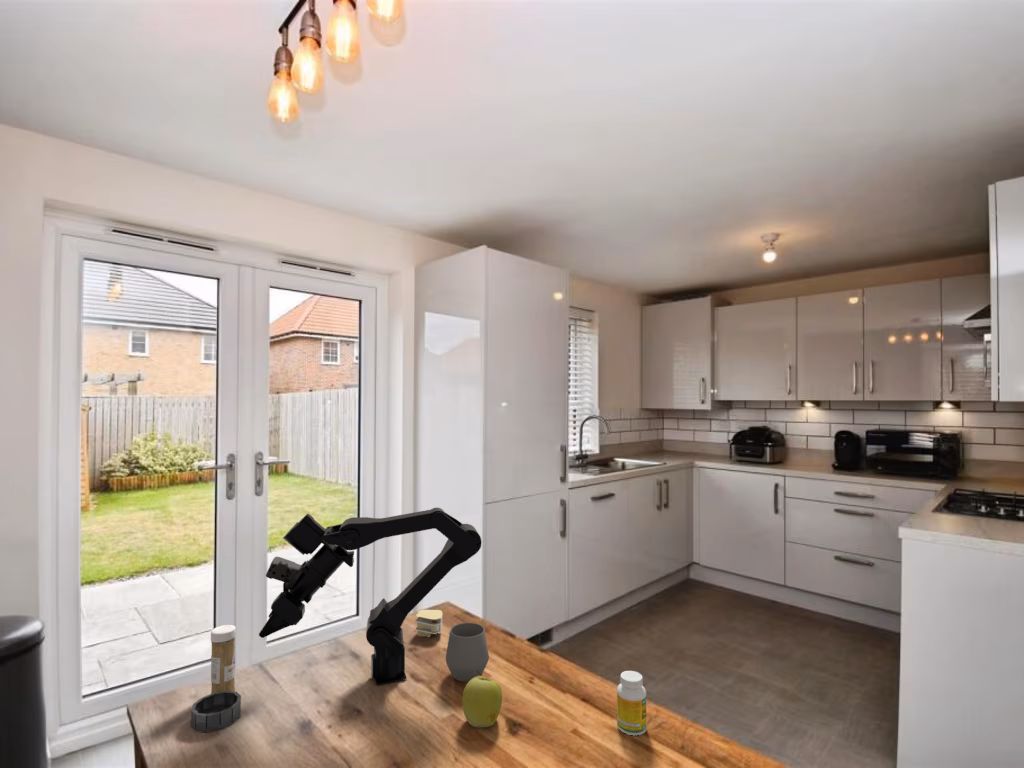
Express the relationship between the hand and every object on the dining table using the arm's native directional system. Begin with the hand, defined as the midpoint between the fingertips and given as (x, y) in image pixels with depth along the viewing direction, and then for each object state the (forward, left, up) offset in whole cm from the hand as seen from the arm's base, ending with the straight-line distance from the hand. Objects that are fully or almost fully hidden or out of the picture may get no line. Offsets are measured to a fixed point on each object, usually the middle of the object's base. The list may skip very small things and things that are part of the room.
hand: (265, 626), depth 113 cm
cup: (-41, +10, -13) cm, 44 cm away
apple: (-39, +27, -13) cm, 49 cm away
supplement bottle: (-64, +39, -13) cm, 76 cm away
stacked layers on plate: (-38, -13, -14) cm, 43 cm away
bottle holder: (+8, +8, -13) cm, 17 cm away
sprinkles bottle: (+8, -1, -13) cm, 16 cm away
